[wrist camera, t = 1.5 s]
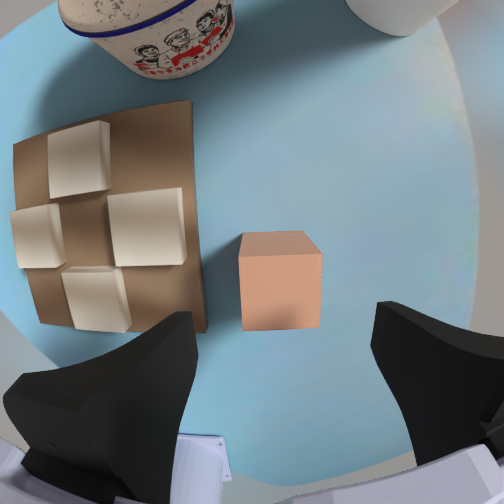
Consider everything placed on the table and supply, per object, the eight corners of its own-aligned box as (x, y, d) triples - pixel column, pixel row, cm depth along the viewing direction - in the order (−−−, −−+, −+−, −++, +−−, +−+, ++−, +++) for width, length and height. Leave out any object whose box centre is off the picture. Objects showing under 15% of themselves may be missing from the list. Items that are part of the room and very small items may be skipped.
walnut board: (207, 326, 21) (202, 344, 19) (46, 318, 22) (31, 330, 19) (192, 103, 17) (183, 93, 15) (20, 144, 17) (1, 144, 15)
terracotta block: (302, 286, 21) (319, 327, 15) (245, 288, 21) (242, 331, 15) (302, 230, 19) (322, 253, 14) (243, 232, 20) (238, 257, 14)
